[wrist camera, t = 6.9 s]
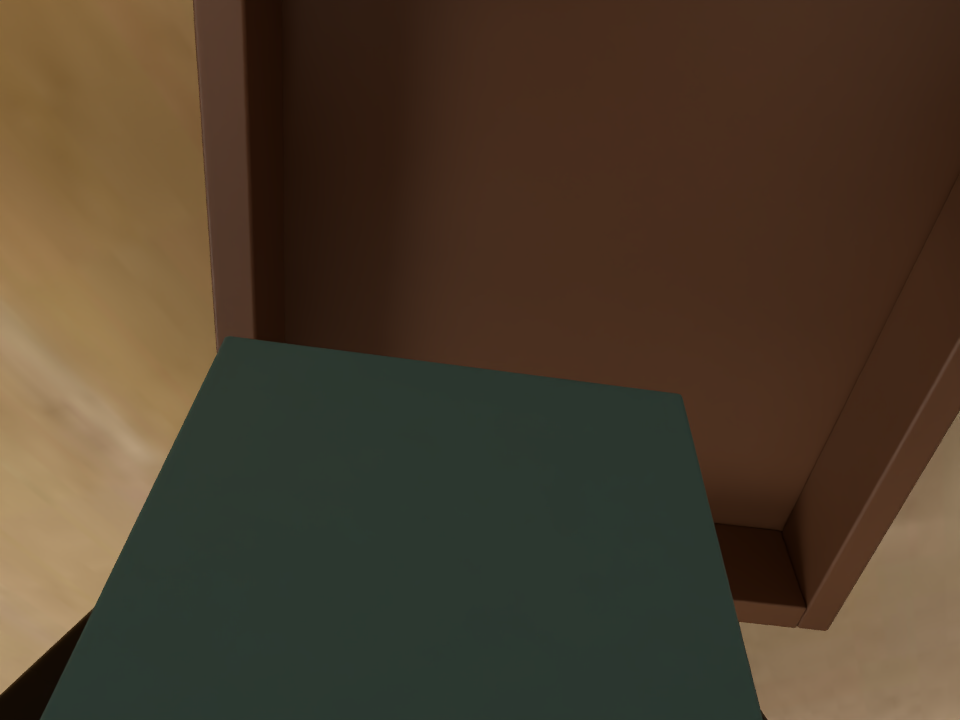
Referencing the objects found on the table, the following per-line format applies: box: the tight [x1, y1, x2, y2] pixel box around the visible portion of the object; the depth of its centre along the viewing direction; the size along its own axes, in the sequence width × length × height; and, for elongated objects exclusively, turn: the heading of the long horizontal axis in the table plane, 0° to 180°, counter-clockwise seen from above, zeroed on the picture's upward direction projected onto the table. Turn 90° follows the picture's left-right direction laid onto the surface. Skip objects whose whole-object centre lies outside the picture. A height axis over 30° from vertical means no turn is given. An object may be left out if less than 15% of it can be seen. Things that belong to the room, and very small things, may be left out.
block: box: [40, 336, 763, 720], centre depth 9 cm, size 5×5×4 cm
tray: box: [193, 0, 960, 631], centre depth 17 cm, size 15×16×3 cm
